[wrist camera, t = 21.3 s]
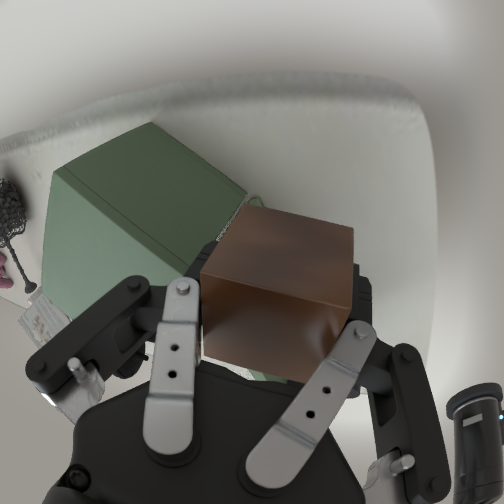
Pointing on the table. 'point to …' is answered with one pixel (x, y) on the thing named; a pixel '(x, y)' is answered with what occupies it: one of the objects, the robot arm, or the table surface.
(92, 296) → the cupboard
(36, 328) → the ink cartridge box
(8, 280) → the video game controller
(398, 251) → the table surface
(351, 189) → the table surface
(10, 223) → the massage brush
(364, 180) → the table surface
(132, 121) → the table surface
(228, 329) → the block
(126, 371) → the webcam
